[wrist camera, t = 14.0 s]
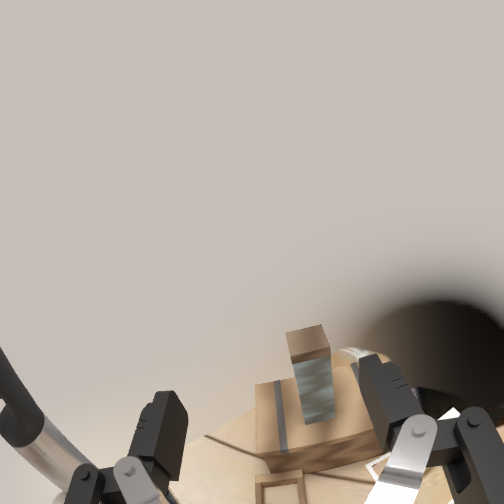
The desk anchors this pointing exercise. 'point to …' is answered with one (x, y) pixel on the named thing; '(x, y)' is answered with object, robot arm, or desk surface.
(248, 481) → the desk surface
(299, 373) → the grey block with cap
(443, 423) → the robot arm
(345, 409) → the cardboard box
